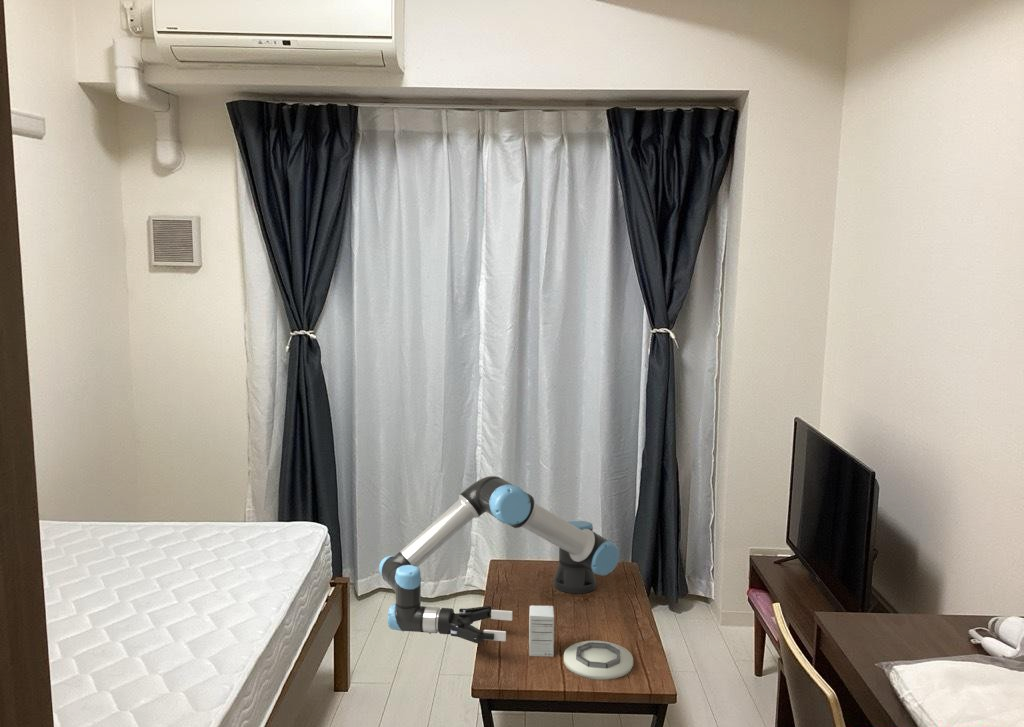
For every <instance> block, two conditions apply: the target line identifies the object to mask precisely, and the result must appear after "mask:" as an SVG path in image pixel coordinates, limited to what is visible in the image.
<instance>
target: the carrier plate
mask: <svg viewBox="0 0 1024 727" xmlns="http://www.w3.org/2000/svg"><path fill="white" fill-rule="evenodd" d="M589 642H590V643H591V642H595V643H607V644H610V645H611V646H613V647H615V648H617V649H619V650H620V663H619V664H617V665H614V666H612V667H610V668H594V667H589V666H588V667H587V666H586V665H584V664H582V663H581V662H579V661H577V660H576V652H577V647H579V646H581V645H584V644H587V643H589ZM580 656H582V657H583V658H585V659H587V660H588V661H591V662H603V663H606V662H609V661H611V660H614V659H616V658H617V655H616V654H615V653H613V652H611V651H609V650H608V649H602V648H589V649H587V650H584V651H581V652H580ZM633 657H634V656H633V655H632V653H631V652H630V651H629V649H627V648H625V647H623V646H622V645H619V644H616V643H614V642H609V641H605V640H604V641H603V640H585V641H579V642H575V643H574V644H571V645H570V646H568V647H567V648H566V649H565V650H564V653H563V664H564V666H565V667H566V669H567V670H569V671H570V672H571V673H572V674H575V675H577V676H579V677H582V678H584V679H585V678H586V679H590V680H596V681H597V680H598V681H599V680H600V681H605V680H606V681H608V680H615V679H619V678H622V677H625V676H626V675H628V674H629V673H630V672H631V671H632V670H633V668H632V667H634V658H633ZM631 669H632V670H631Z"/></svg>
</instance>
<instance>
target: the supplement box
mask: <svg viewBox="0 0 1024 727" xmlns="http://www.w3.org/2000/svg"><path fill="white" fill-rule="evenodd" d="M554 610H555V609H554V605H529V611H528V613H529V614H528V617H529V618H528V619H529V620H528V624H529V625H528V632H529V633H528V645H529V646H528V648H529V649H528V650H529V657H547V658H548V657H555V656H554V655H555V653H554V652H555V646H554V645H555V611H554Z"/></svg>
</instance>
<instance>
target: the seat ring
mask: <svg viewBox="0 0 1024 727" xmlns="http://www.w3.org/2000/svg"><path fill="white" fill-rule="evenodd" d="M589 648H602V649H608V650H609V651H611V652H613V653H615V654H616V655H617V658H616V659H614V660H611V661H609V662H606V663H603V662H591V661H588V660H587V659H585V658H583V657H582V656H580V652H581V651H584V650H587V649H589ZM576 660H577V661H579V662H581V663H582V664H584V665H586V666H587V667H588V666H589V667H594V668H610V667H612V666H614V665H617V664H619V663H620V650H619V649H617V648H615V647H613V646H611V645H610V644H607V643H595V642H591V643H590V642H589V643H587V644H584V645H581V646H579V647H577V652H576Z"/></svg>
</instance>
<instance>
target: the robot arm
mask: <svg viewBox="0 0 1024 727" xmlns="http://www.w3.org/2000/svg"><path fill="white" fill-rule="evenodd" d="M484 513H488V514H489V515H491V516H492V517H493V518H495V519H496V520H497V521H498V522H500V523H502V524H506V525H508V526H510V527H512V528H514V529H520V528H524V529H525V530H527V531H529V532H531V533H533V534H535V535H536V536H538V537H540V538H542V539H543V540H545V541H547V542H549V543H551V544H552V545H555V546H556V547H558V551H559V552H558V566H557V568H556V570H555V571H556V572H555V574H554V577H553V587H554V588H555V589H556V590H558V591H561V592H564V593H568V594H575V593H577V594H578V595H579V594H586V593H590V592H592V591H594V590H595V589H596V588H597V578H596V575H598V576H607V575H608V574H610V573H612V572H613V570H615V569H616V567H617V565H618V564H619V560H620V550H619V549H620V548H619V547H618V546H617V544H615V543H614V542H613V541H612V540H608V539H607V538H605V537H603V536H601V535H600V534H598V533H596V532H595V531H594V527H593V523H592V522H589V521H586V520H585V521H584V520H573V521H567V520H565V519H563V518H562V517H560V516H558V515H556V514H554V513H553V512H551V511H549V510H547V509H546V508H544V507H542V506H540V505H539V504H537V503H536V502H535V499H534V496H533V495H531V494H530V493H528V492H526V491H524V489H522V488H520V487H519V486H517V485H514V484H513V483H511V482H509V481H507V480H505V479H504V478H502V477H499V476H496V475H495V476H494V475H492V476H491V475H490V476H485V477H483V478H480V479H478V480H477V481H475V482H473V483H472V484H471V485H469V486H468V487H467V488H466V489H465V490H463V491H462V492H461V493H460V494H459V495H458V500H457V501H456V502H454V503H453V504H452V505H450V507H449V508H448V509H446V510H445V511H444V512H443V513H442V514H441V515H439V516H438V518H436V519H435V520H434V521H433V522H432V523H431V524H429V526H428V527H426V528H425V529H423V531H421V532H420V533H419V534H418V535H417V536H416V537H415V538H414V539H413V540H411V541H410V542H409V543H408V544H407V545H406V546H405V547H403V548H402V549H401V550H400V551H399V552H398V553H397V554H395V555H388V556H385V557H384V558H382V559H381V561H380V563H379V566H378V571H379V574H380V576H381V577H382V579H383V581H385V582H386V583H387V584H388V585H389V586H390V587H391V588H392V590H393V591H394V592H395V604H394V603H393V604H391V605H390V607H389V609H388V612H387V626H388V627H389V629H390V630H393V631H400V632H416V633H427V634H430V635H431V634H437V633H439V634H440V635H450V636H451V637H458V638H460V639H464V640H466V641H469V642H471V643H474V644H483V643H484V640H485V641H495V642H496V641H498V642H506V641H507V631H505V630H504V631H503V630H493V629H483V630H481V629H479V628H477V627H476V626H473V624H474V622H479V621H482V620H486V619H491V620H498V621H499V620H500V621H513V610H503V609H493V608H492V606H491V605H483V606H478V607H477V606H476V607H470V608H459V613H455V610H454V609H453V608H449V607H441V608H440V607H439V606H425V605H421V602H422V601H421V591H422V590H421V589H422V588H421V587H422V586H421V585H422V583H421V582H422V576H421V570H420V568H419V567H420V566H421V565H422V564H423V563H424V562H425V561H426V560H427V559H428V558H430V557H431V556H433V554H434V553H435V552H437V551H438V550H439V549H440V548H441V547H442V546H443V545H445V544H446V542H448V541H449V540H451V538H452V537H453V536H455V534H457V533H458V532H459V531H460V530H461V529H463V527H465V526H466V525H467V524H468V523H469V522H471V521H472V519H474V518H478V519H479V517H481V515H483V514H484Z"/></svg>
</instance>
